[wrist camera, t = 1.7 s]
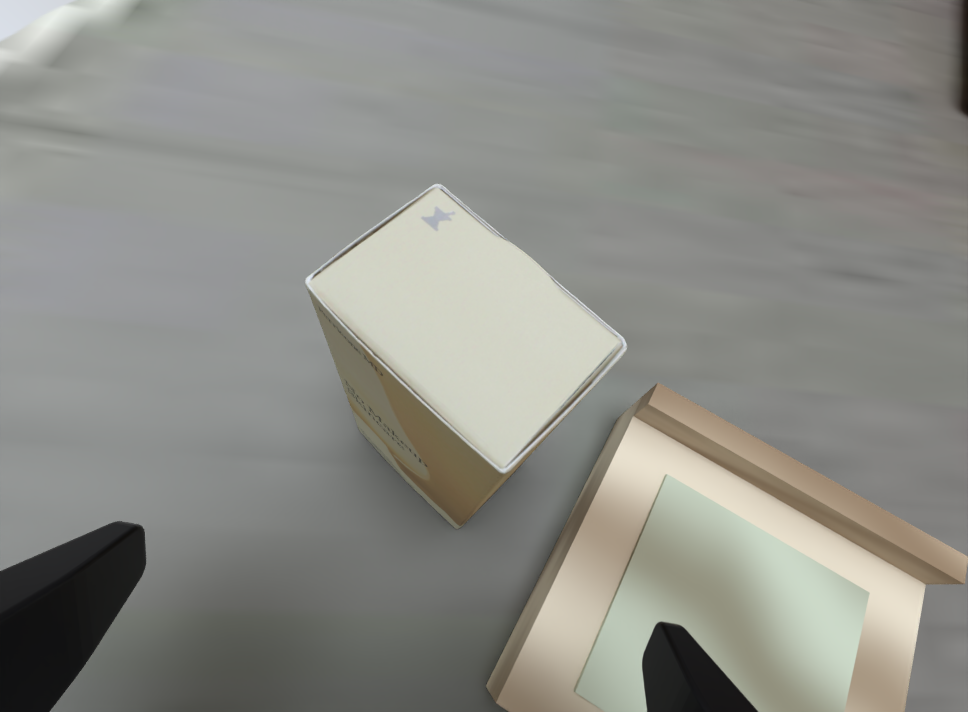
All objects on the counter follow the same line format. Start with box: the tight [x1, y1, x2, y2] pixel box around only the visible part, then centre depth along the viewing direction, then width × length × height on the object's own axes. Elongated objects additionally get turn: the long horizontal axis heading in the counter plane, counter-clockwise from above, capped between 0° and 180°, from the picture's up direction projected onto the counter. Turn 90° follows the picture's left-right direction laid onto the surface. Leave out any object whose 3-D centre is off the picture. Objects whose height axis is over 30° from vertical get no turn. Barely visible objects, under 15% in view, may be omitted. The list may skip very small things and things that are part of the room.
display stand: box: [486, 383, 968, 712], centre depth 18 cm, size 12×12×4 cm
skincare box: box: [305, 184, 627, 529], centre depth 17 cm, size 6×4×12 cm
